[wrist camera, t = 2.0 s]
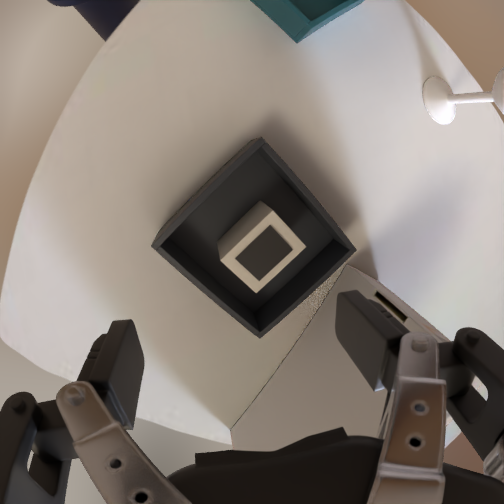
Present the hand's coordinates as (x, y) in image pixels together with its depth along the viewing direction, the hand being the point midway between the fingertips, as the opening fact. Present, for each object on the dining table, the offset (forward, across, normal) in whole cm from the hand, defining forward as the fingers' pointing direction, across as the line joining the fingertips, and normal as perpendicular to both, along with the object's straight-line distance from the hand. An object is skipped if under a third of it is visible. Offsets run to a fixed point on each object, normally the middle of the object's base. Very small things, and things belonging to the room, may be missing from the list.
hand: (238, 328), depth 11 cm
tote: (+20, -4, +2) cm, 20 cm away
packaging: (+20, -9, +21) cm, 31 cm away
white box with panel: (+19, -4, +2) cm, 20 cm away
